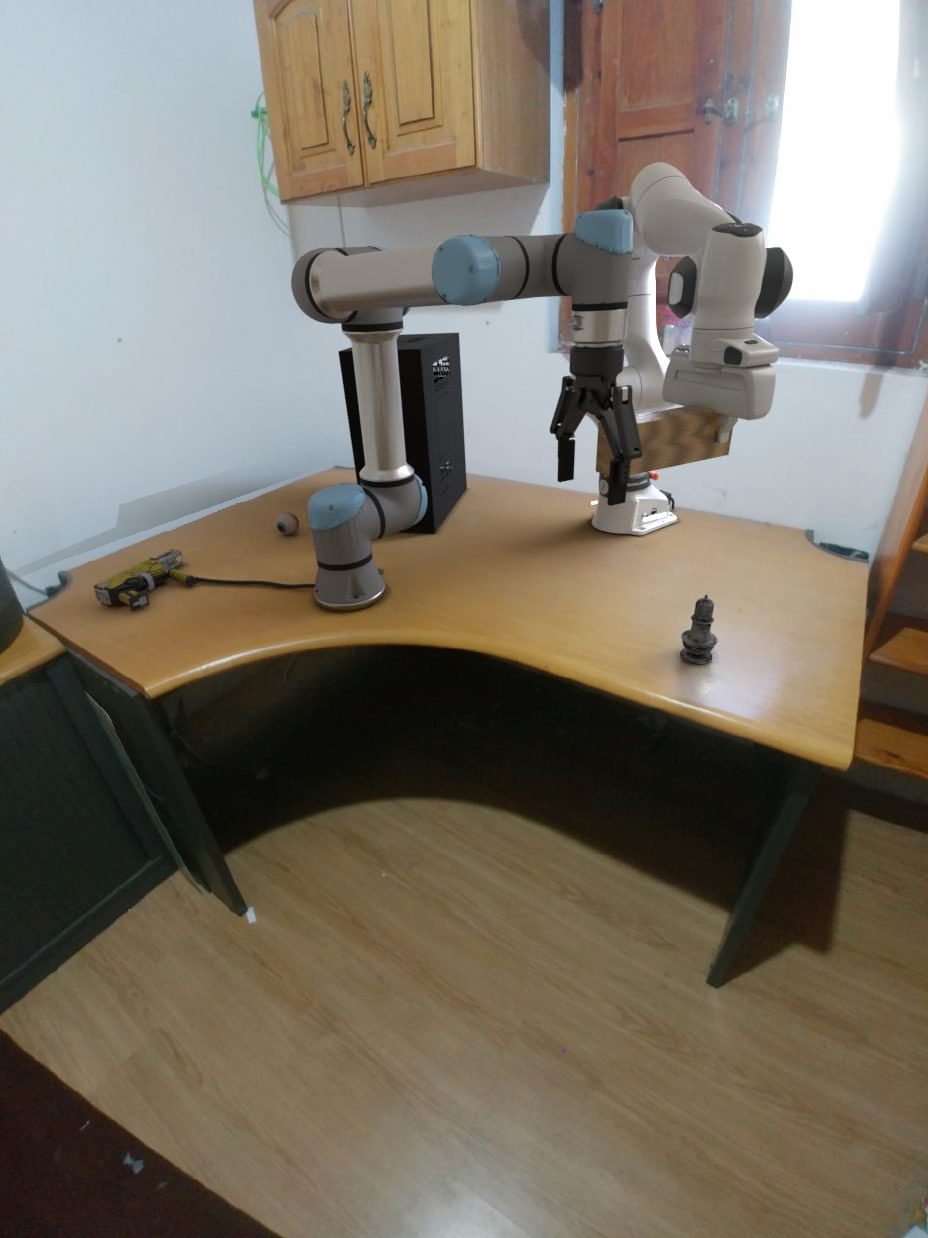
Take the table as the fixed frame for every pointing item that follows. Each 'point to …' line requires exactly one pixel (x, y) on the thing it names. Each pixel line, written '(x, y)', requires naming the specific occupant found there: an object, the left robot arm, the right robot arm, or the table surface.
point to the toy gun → (141, 581)
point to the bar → (669, 439)
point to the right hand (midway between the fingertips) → (706, 438)
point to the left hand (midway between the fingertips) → (589, 491)
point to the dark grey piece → (699, 634)
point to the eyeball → (287, 523)
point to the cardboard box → (422, 419)
